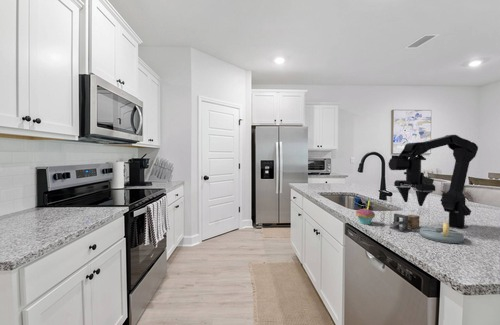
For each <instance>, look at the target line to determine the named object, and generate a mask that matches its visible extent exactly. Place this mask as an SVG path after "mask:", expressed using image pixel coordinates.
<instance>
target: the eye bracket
mask: <svg viewBox="0 0 500 325" xmlns="http://www.w3.org/2000/svg"><path fill="white" fill-rule="evenodd" d="M406 215H407V214H401V213H393V222H399V221H400V218H401V219H402V220H401V221H402V224H401V225H402V226H401V225H396V226H394V227H393V226H391V225H390V226H389V229H392V230H395V231H398V232H402V233H409V232H413V228H409V227H408V216H406Z"/></svg>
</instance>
